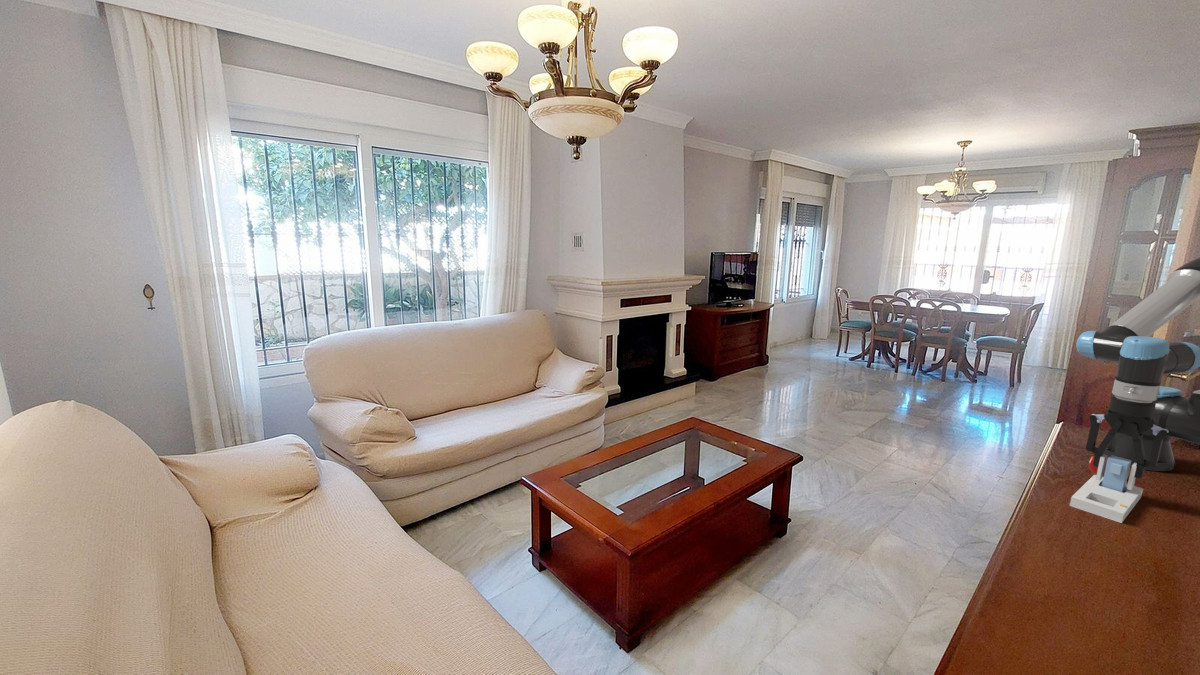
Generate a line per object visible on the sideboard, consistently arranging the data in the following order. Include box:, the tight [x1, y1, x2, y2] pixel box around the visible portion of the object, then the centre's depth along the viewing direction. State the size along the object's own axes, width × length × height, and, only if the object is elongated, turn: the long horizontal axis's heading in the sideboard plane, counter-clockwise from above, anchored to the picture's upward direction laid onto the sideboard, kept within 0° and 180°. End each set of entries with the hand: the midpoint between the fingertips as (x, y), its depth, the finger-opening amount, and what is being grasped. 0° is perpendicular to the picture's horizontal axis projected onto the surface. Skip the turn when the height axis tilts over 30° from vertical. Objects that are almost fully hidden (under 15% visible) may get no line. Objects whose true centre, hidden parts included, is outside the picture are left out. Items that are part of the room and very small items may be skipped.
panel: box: [1069, 474, 1144, 524], centre depth 120 cm, size 20×9×3 cm, turn 123°
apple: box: [1088, 455, 1109, 477], centre depth 133 cm, size 8×8×6 cm
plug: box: [1102, 455, 1132, 493], centre depth 122 cm, size 4×4×10 cm
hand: (1114, 483), depth 122 cm, fingers open, 5 cm apart
